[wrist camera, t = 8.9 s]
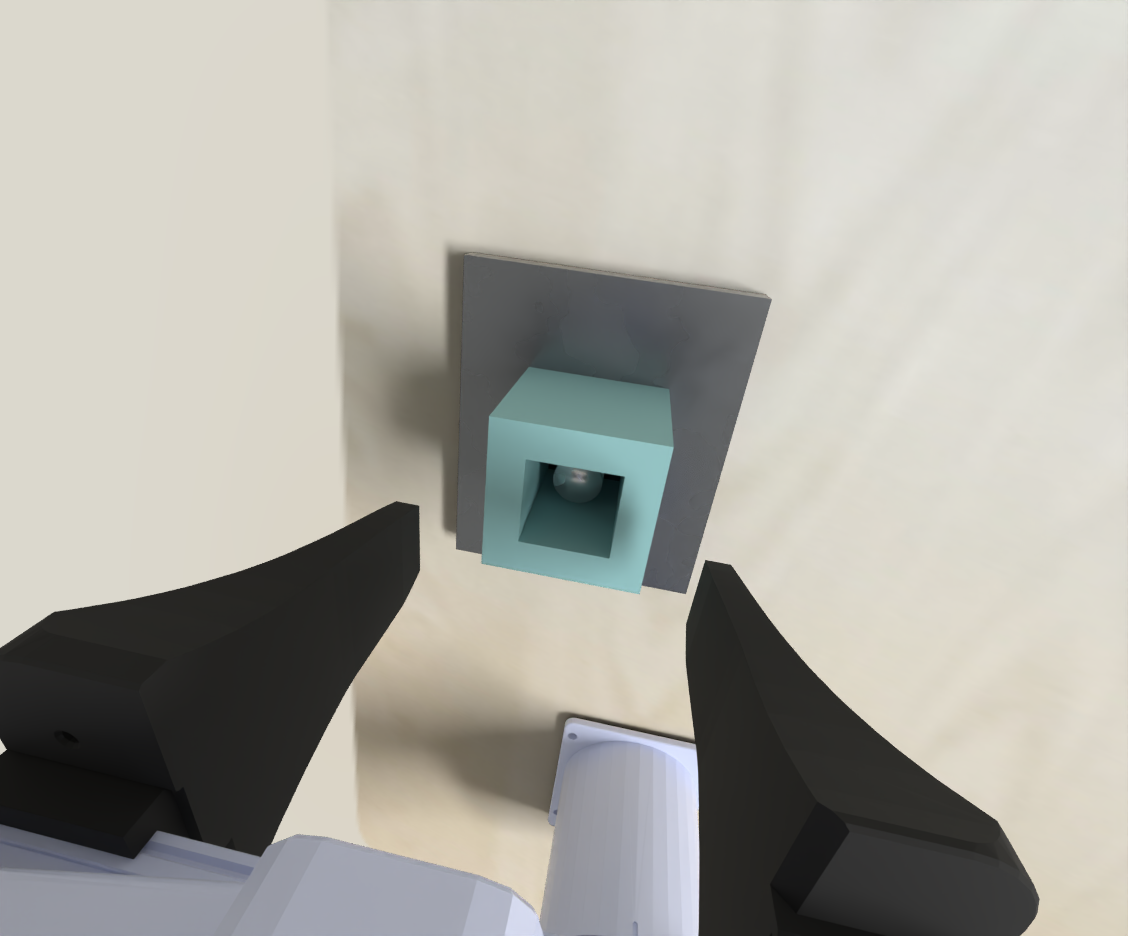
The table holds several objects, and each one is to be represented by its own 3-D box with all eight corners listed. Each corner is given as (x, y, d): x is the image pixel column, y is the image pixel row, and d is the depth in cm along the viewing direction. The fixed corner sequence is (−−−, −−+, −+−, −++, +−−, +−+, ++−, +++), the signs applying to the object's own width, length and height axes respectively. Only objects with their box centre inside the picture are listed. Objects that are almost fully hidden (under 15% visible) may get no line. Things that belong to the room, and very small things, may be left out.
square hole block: (642, 510, 20) (639, 594, 16) (518, 488, 21) (481, 563, 16) (669, 389, 18) (673, 447, 14) (528, 366, 18) (489, 416, 14)
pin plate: (684, 578, 23) (690, 647, 19) (463, 536, 24) (429, 594, 20) (766, 294, 17) (794, 316, 14) (473, 252, 18) (428, 262, 14)
